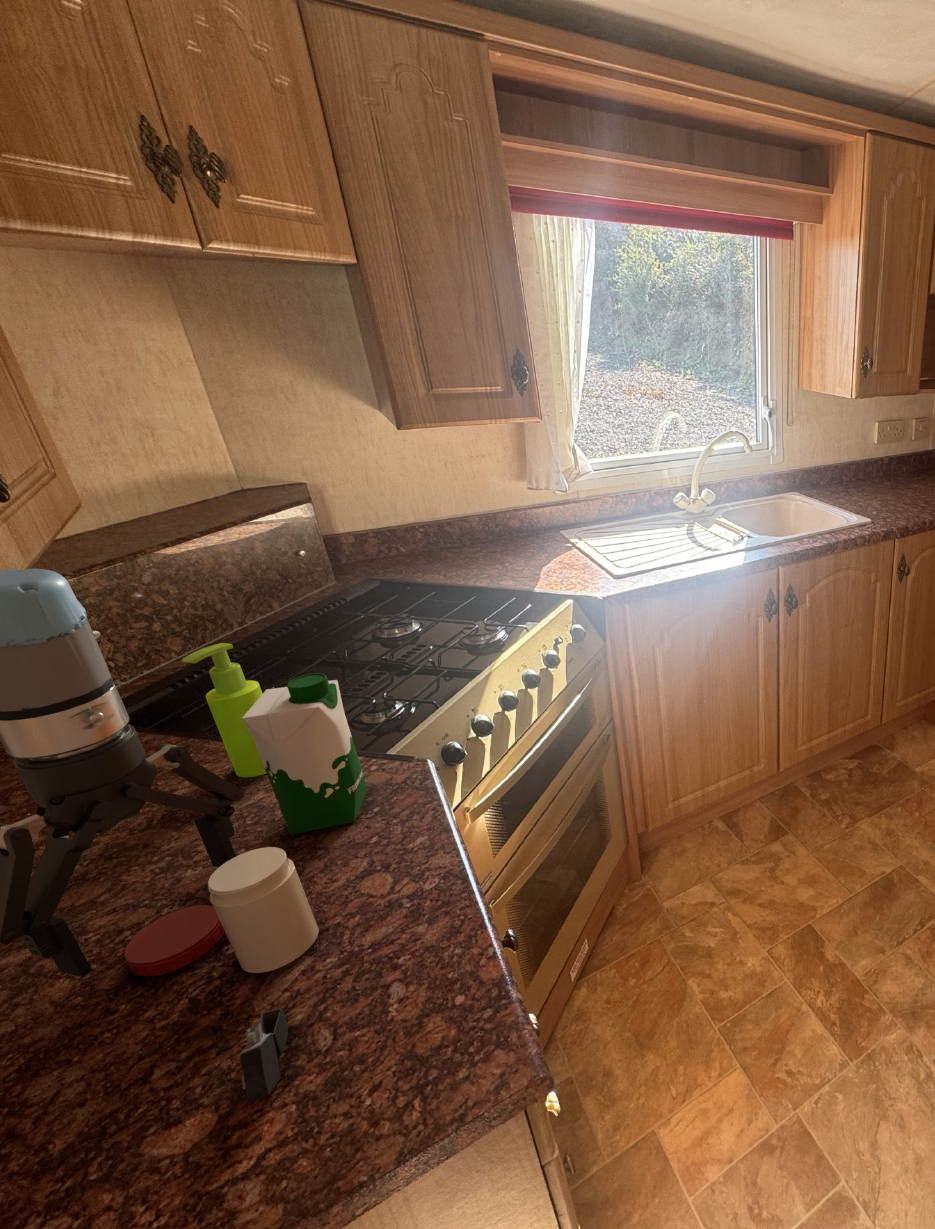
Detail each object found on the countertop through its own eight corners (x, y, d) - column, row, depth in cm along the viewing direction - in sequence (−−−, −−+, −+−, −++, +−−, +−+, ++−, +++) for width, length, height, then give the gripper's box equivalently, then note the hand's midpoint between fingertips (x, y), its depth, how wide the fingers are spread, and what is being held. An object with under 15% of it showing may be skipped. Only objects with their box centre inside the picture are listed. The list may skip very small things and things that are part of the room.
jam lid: (231, 943, 68) (225, 930, 68) (134, 990, 63) (126, 977, 62) (219, 906, 73) (213, 893, 72) (127, 947, 68) (120, 934, 67)
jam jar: (233, 948, 68) (197, 870, 64) (309, 910, 72) (280, 835, 68) (248, 985, 64) (211, 905, 60) (327, 942, 68) (297, 865, 64)
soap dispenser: (218, 778, 94) (167, 655, 87) (265, 752, 100) (222, 635, 93) (249, 784, 93) (200, 660, 85) (295, 757, 99) (254, 640, 92)
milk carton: (360, 825, 85) (317, 693, 78) (278, 841, 82) (225, 706, 75) (376, 786, 93) (339, 662, 85) (301, 799, 90) (256, 673, 82)
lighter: (266, 1070, 59) (256, 1012, 59) (294, 1058, 60) (284, 1001, 60) (237, 1108, 52) (225, 1043, 52) (269, 1094, 53) (258, 1030, 53)
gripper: (-102, 840, 46) (27, 1038, 54) (246, 680, 69) (301, 836, 77) (-177, 824, 47) (-40, 1019, 56) (189, 672, 70) (249, 826, 78)
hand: (158, 913), depth 66 cm, fingers open, 13 cm apart
